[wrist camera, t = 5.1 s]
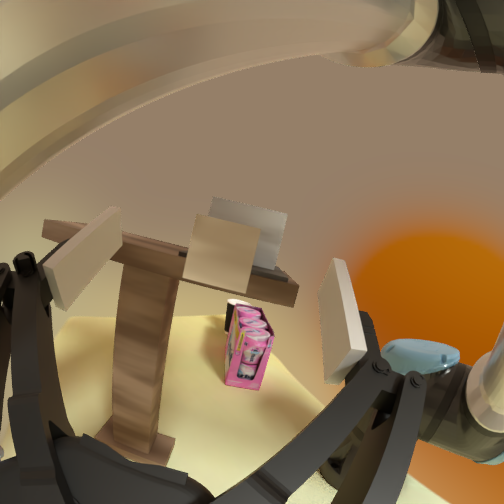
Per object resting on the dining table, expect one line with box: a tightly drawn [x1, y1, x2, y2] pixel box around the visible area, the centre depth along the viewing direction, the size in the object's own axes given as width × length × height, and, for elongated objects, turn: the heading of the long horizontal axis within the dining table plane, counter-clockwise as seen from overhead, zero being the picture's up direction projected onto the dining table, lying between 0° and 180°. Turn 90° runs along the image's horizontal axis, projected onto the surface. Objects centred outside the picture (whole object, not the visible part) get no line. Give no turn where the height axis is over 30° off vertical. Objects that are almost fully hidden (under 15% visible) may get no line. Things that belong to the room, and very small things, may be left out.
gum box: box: [225, 303, 275, 390], centre depth 63 cm, size 24×8×14 cm, turn 5°
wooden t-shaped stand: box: [42, 219, 299, 467], centre depth 30 cm, size 12×28×28 cm, turn 89°
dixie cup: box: [225, 299, 251, 335], centre depth 86 cm, size 8×8×11 cm
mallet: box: [182, 197, 287, 294], centre depth 23 cm, size 22×8×6 cm, turn 0°
